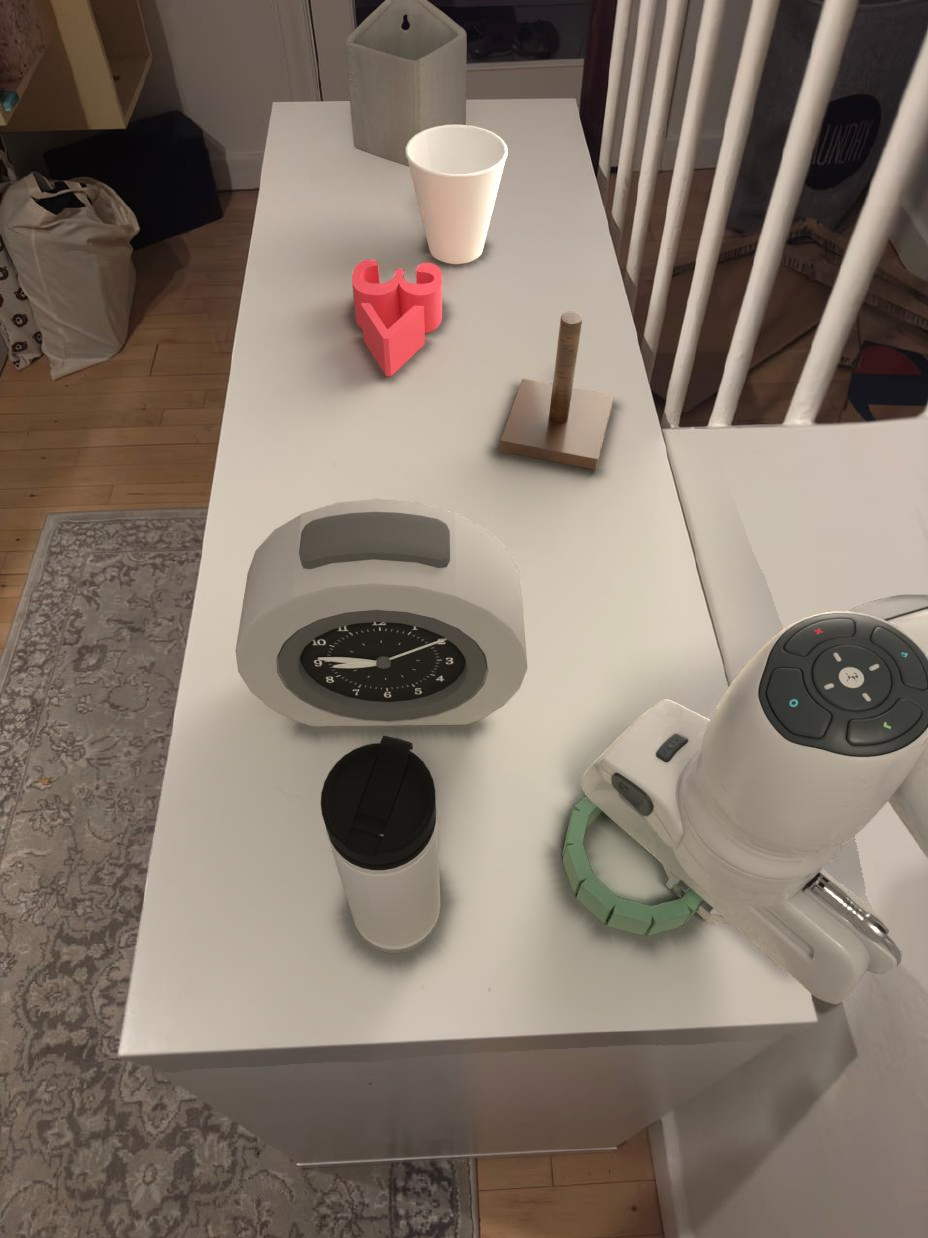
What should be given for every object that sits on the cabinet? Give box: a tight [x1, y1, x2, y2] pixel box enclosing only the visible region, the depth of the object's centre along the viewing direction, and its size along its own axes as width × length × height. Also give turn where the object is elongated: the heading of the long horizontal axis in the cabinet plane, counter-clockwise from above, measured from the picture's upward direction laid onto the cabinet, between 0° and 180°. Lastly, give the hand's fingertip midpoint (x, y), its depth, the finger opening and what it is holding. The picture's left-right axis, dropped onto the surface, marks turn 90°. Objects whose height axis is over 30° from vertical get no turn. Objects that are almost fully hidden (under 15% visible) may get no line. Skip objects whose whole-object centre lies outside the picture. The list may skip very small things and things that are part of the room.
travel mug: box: [320, 735, 441, 954], centre depth 54 cm, size 6×7×20 cm
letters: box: [351, 259, 443, 377], centre depth 98 cm, size 14×10×5 cm
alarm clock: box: [235, 498, 528, 727], centre depth 65 cm, size 21×8×20 cm, turn 91°
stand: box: [499, 310, 615, 471], centre depth 86 cm, size 10×10×14 cm
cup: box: [405, 124, 509, 265], centre depth 105 cm, size 12×12×12 cm
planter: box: [344, 0, 468, 167], centre depth 116 cm, size 16×8×19 cm, turn 101°
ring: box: [561, 794, 704, 937], centre depth 63 cm, size 11×11×3 cm
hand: (694, 897), depth 61 cm, fingers closed on ring
